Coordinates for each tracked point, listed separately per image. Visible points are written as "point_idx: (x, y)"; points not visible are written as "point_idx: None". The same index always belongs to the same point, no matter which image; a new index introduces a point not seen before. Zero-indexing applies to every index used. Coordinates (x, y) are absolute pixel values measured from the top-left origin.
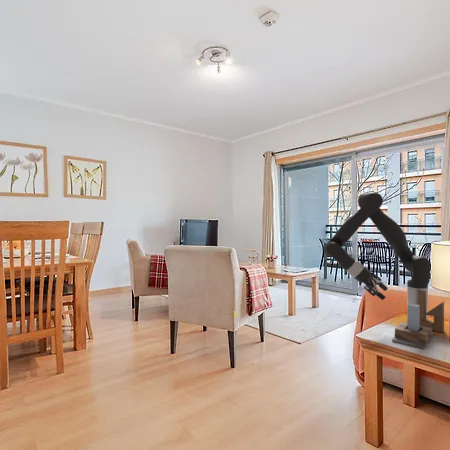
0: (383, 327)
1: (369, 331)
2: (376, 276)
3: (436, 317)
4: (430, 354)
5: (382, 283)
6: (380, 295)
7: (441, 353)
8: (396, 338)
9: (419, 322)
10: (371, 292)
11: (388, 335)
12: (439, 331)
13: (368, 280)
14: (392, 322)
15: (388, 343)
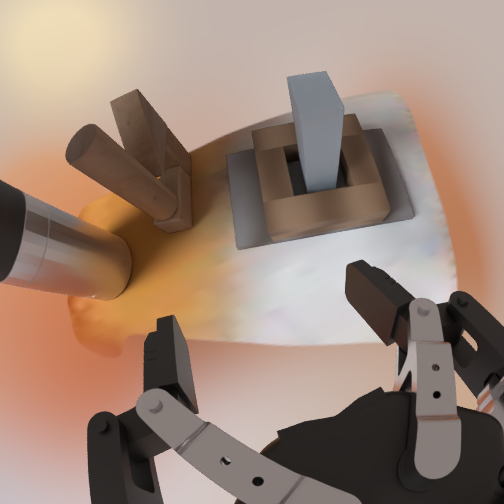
0: (290, 320)
1: None
2: (120, 496)
3: (167, 142)
4: (394, 113)
5: (160, 379)
6: (401, 288)
7: (363, 100)
8: (394, 209)
9: (296, 136)
10: (461, 356)
11: (367, 258)
12: (190, 160)
13: (479, 475)
14: (198, 321)
15: (433, 219)
